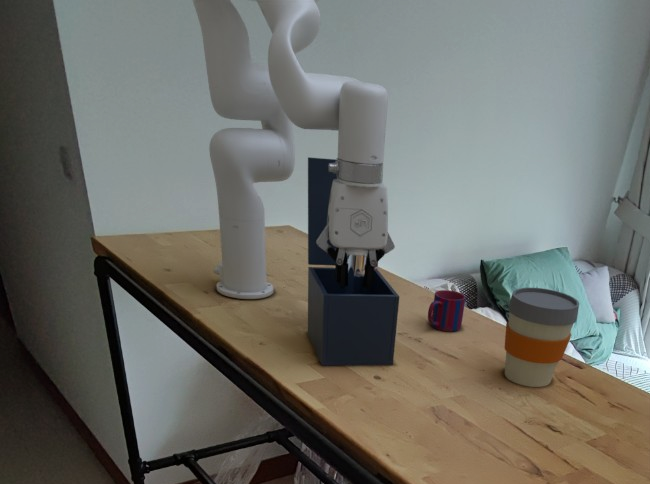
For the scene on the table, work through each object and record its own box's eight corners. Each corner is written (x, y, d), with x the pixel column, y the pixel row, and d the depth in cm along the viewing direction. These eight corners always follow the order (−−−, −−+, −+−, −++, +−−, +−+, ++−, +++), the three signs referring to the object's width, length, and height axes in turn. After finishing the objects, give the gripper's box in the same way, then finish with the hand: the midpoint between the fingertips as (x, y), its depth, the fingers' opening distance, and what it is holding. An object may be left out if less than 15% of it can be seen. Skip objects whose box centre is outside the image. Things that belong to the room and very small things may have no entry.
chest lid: (383, 163, 117) (382, 163, 117) (308, 157, 113) (307, 157, 114) (377, 266, 126) (376, 266, 127) (308, 264, 122) (307, 263, 123)
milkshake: (343, 290, 121) (345, 232, 115) (370, 295, 120) (373, 237, 114) (333, 296, 118) (335, 237, 112) (360, 302, 117) (363, 242, 110)
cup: (467, 328, 142) (472, 297, 138) (435, 336, 137) (439, 304, 133) (445, 319, 146) (450, 288, 142) (413, 326, 140) (417, 294, 136)
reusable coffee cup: (483, 366, 126) (498, 287, 117) (537, 362, 131) (555, 286, 122) (516, 393, 118) (535, 311, 108) (572, 388, 122) (595, 309, 113)
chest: (393, 364, 122) (399, 296, 114) (321, 365, 118) (323, 294, 111) (372, 332, 134) (377, 268, 127) (307, 332, 131) (308, 266, 123)
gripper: (313, 173, 102) (311, 292, 113) (414, 181, 106) (402, 294, 117) (305, 165, 107) (304, 279, 118) (402, 172, 112) (392, 281, 123)
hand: (353, 285), depth 118 cm, fingers closed on milkshake, 4 cm apart
